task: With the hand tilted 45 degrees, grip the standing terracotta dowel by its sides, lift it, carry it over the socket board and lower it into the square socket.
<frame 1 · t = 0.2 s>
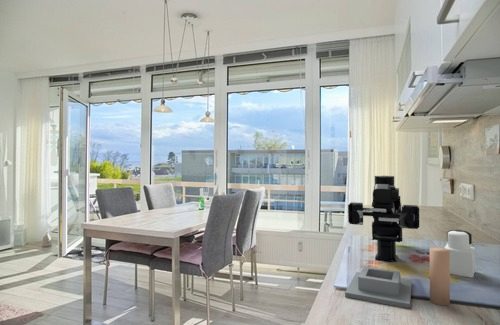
hand: (380, 221, 85), 17 cm above the counter, tool horizontal, fingers open, 9 cm apart
dowel: (439, 301, 74), on the counter
medicine bottle: (459, 272, 94), on the counter
socket: (379, 289, 81), on the counter
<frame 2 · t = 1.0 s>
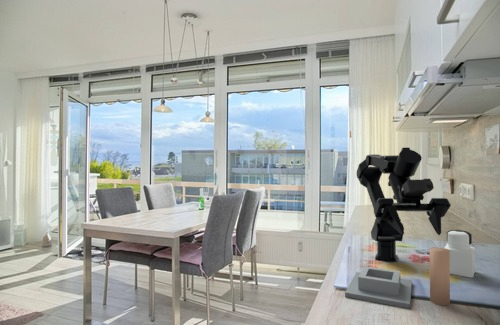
hand: (421, 234, 83), 14 cm above the counter, tool tilted 45°, fingers open, 9 cm apart
nothing on the counter moved.
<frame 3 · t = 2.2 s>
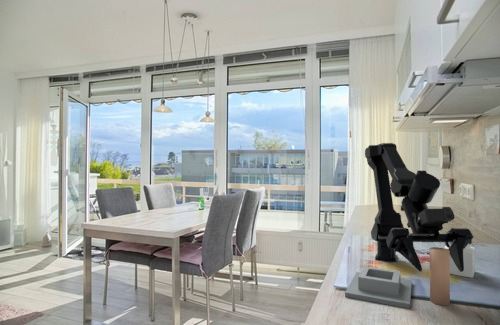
hand: (441, 270, 73), 7 cm above the counter, tool tilted 45°, fingers open, 9 cm apart
nothing on the counter moved.
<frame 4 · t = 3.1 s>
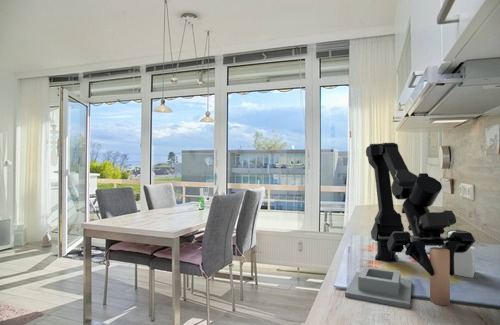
hand: (442, 275, 73), 7 cm above the counter, tool tilted 45°, fingers closed on dowel, 4 cm apart
dowel: (439, 301, 74), on the counter, touching gripper
everything else where it was.
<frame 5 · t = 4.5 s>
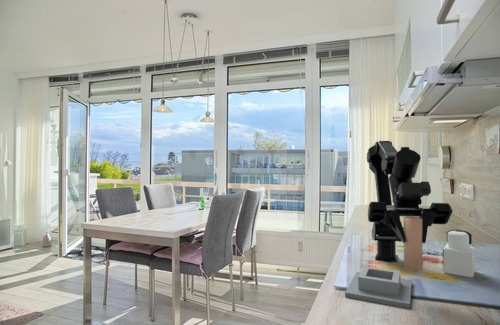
hand: (414, 242, 76), 13 cm above the counter, tool tilted 45°, fingers closed on dowel, 4 cm apart
dowel: (413, 268, 77), point 7 cm above the counter, touching gripper
everything else where it was.
when the fingers open (9 cm above the counter, at t = 6.1 s): dowel drops 1 cm, resting on socket.
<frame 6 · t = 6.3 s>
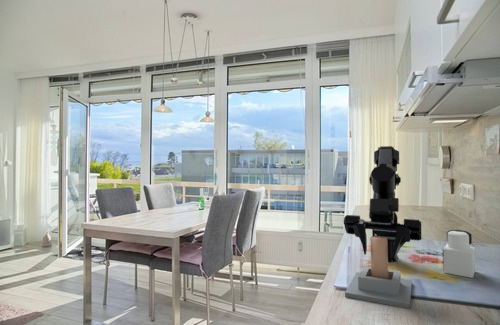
hand: (379, 255, 80), 9 cm above the counter, tool tilted 45°, fingers open, 6 cm apart
dowel: (379, 285, 81), point 1 cm above the counter, touching socket
everything else where it was.
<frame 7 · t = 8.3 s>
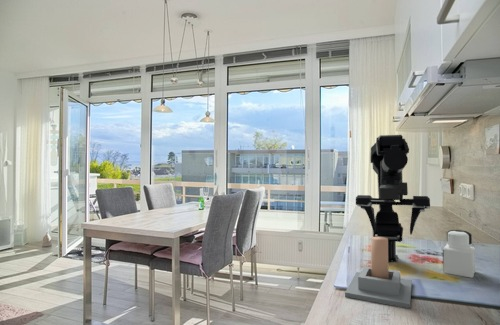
hand: (392, 233, 88), 13 cm above the counter, tool pointing down, fingers open, 9 cm apart
nothing on the counter moved.
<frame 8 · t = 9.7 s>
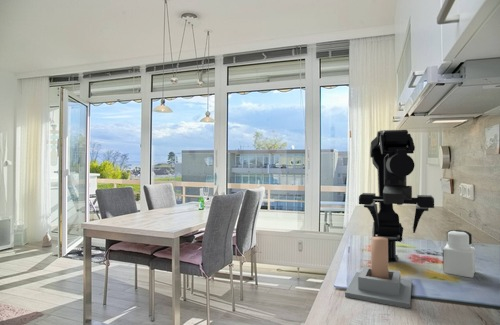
hand: (395, 231, 89), 13 cm above the counter, tool pointing down, fingers open, 9 cm apart
nothing on the counter moved.
at the end: dowel 0.0 cm off-centre on the socket, point 1.0 cm above the socket's base; dowel tilted 0°; the gripper is holding nothing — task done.
